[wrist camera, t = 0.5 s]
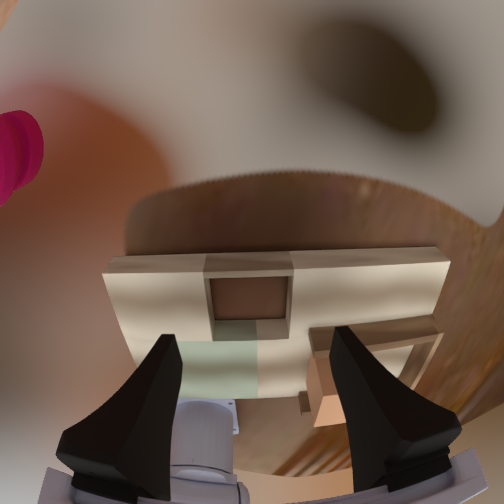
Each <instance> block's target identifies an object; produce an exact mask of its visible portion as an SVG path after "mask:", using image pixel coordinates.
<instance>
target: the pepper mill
mask: <svg viewBox="0 0 504 504" xmlns="http://www.w3.org/2000/svg"><path fill="white" fill-rule="evenodd" d="M42 158H43V137H42V132H41V130H40V128H39V125H38V123H37V121H36V120H35V119H34V118H33V117H32V116H31V115H30V114H29V113H27V112H25V111H21V110H19V111H12V112H8V113H3V114H1V115H0V207H1V206H2V205H3V204H4V203H5V202H6V201H7V200H8V199H9V198H10V196H11V195H12V193H13V191H14V190H17V189H18V188H20V187H22V186H24V185H25V184H27V183H29V182H30V181H32V180H33V178H34V177H35V176H36V174H37V173H38V171H39V168H40V166H41V162H42Z"/></svg>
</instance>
